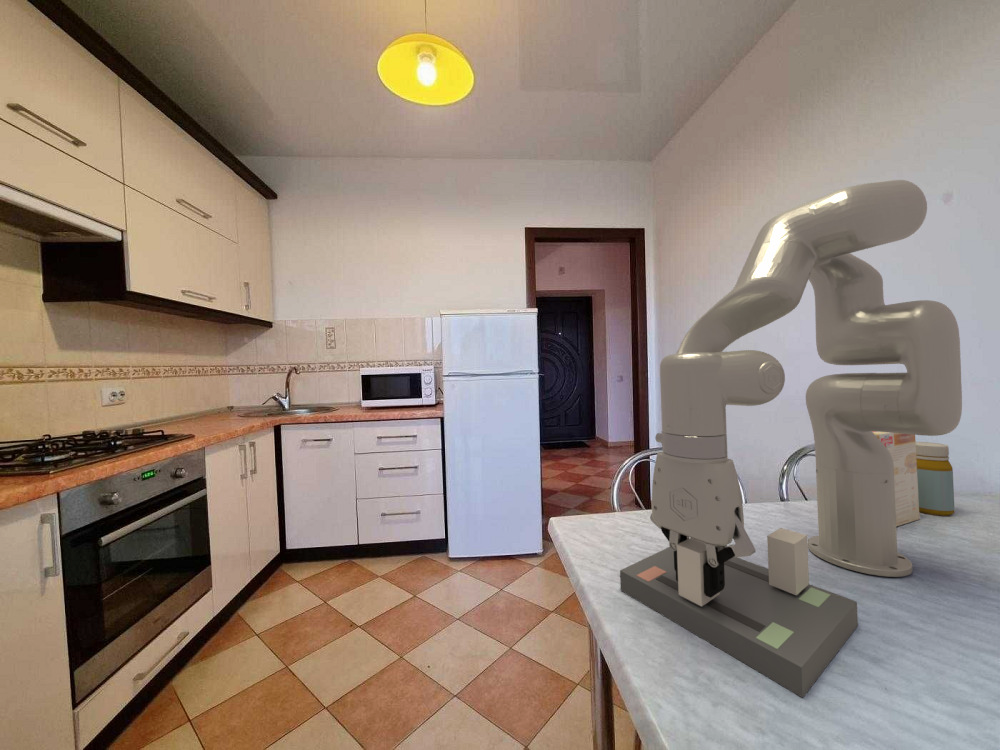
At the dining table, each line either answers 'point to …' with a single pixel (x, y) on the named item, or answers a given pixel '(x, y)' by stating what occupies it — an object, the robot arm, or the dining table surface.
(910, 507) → the coffeecake box
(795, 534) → the block
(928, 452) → the bottle
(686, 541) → the block
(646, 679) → the dining table surface
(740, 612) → the breaker panel
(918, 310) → the robot arm
